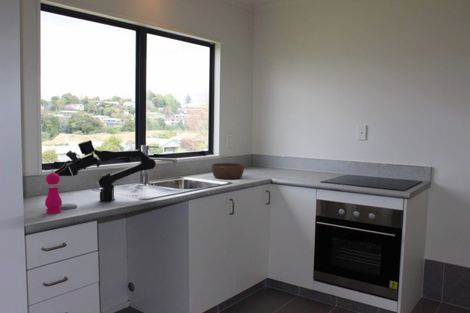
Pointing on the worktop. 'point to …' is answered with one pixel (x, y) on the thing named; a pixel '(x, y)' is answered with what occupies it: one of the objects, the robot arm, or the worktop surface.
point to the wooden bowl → (227, 170)
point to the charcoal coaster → (67, 206)
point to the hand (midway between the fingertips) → (55, 174)
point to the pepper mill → (53, 194)
